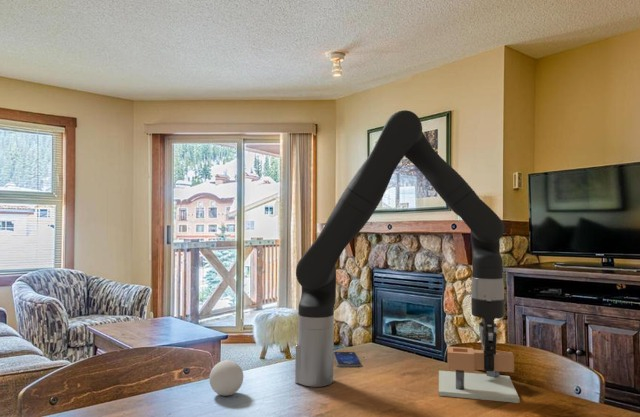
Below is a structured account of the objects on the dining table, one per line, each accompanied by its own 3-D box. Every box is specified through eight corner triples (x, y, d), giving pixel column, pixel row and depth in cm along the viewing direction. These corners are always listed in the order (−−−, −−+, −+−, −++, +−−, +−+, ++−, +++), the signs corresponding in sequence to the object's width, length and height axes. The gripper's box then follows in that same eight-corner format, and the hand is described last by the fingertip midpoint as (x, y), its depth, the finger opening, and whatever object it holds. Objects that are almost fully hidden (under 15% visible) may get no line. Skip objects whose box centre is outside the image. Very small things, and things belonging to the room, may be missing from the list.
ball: (233, 402, 108) (234, 367, 109) (202, 398, 111) (203, 363, 111) (248, 391, 116) (249, 357, 116) (219, 387, 118) (220, 355, 119)
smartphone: (355, 351, 151) (362, 365, 137) (355, 354, 151) (362, 368, 136) (332, 351, 151) (337, 365, 136) (332, 354, 151) (337, 368, 136)
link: (511, 366, 116) (511, 350, 116) (515, 374, 110) (514, 356, 111) (447, 362, 120) (447, 346, 120) (448, 369, 114) (447, 352, 114)
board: (438, 395, 114) (438, 391, 114) (438, 374, 130) (438, 370, 130) (519, 402, 109) (519, 398, 109) (509, 379, 126) (509, 376, 126)
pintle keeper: (455, 393, 115) (455, 364, 116) (454, 373, 131) (453, 348, 131) (514, 398, 112) (514, 368, 112) (505, 378, 127) (505, 351, 128)
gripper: (469, 292, 123) (470, 359, 122) (473, 300, 109) (474, 376, 109) (500, 293, 121) (501, 361, 121) (508, 301, 108) (509, 378, 107)
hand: (488, 368), depth 115 cm, fingers closed on link, 3 cm apart
